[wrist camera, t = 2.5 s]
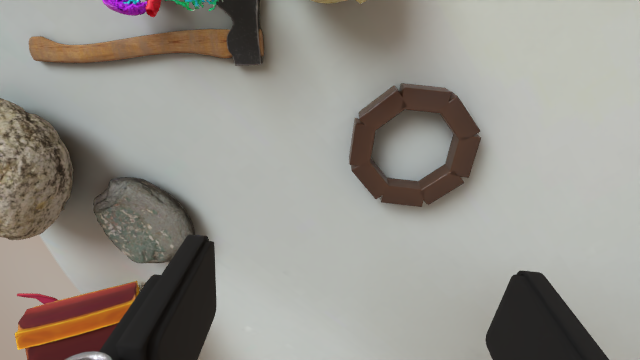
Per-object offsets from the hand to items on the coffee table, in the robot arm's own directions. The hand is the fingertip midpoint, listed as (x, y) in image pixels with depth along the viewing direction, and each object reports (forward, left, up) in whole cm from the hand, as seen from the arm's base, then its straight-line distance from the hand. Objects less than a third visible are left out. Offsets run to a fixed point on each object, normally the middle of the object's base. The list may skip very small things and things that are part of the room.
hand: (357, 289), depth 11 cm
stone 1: (+20, +7, -12) cm, 24 cm away
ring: (-5, 0, -16) cm, 16 cm away
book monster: (+18, +19, -7) cm, 27 cm away
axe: (+14, -8, -15) cm, 23 cm away
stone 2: (+13, +9, -13) cm, 20 cm away
